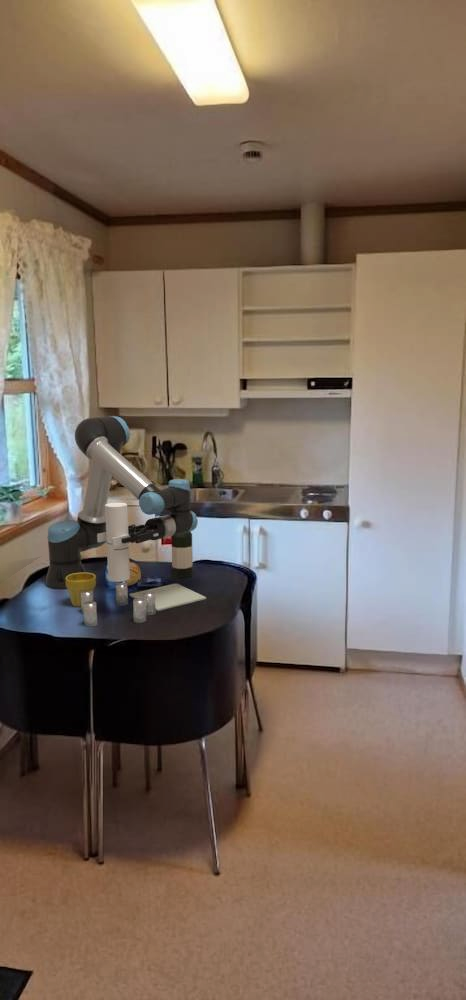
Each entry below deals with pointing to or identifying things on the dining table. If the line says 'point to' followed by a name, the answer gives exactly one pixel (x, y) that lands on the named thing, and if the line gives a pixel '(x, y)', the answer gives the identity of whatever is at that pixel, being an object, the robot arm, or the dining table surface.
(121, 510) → the cylindrical container
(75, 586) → the plant pot
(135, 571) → the croissant
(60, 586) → the robot arm
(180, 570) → the wine bottle
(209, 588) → the dining table surface
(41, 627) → the dining table surface
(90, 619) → the lit candle cluster
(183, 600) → the sage board
